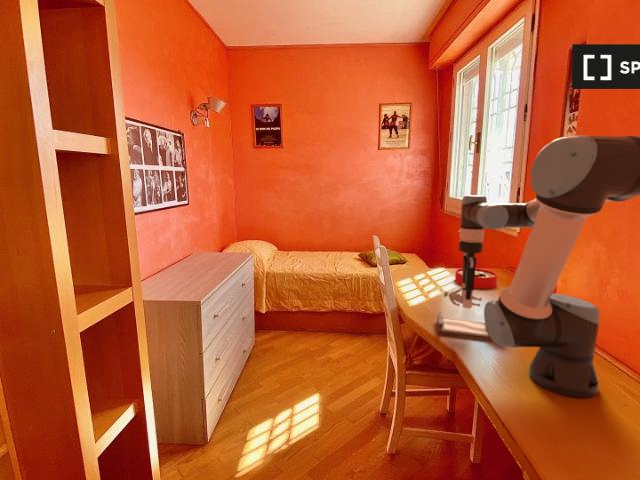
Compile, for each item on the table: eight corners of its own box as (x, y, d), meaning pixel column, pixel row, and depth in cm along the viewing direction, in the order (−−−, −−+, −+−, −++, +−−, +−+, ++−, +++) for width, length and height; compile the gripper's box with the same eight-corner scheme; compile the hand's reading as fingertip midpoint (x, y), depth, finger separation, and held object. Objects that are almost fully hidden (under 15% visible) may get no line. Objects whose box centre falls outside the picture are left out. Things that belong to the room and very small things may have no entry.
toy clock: (505, 275, 175) (479, 279, 166) (504, 285, 176) (478, 291, 167) (473, 266, 193) (447, 270, 184) (472, 276, 194) (446, 280, 185)
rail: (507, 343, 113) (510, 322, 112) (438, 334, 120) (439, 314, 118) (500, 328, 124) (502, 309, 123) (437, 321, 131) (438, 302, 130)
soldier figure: (478, 312, 116) (443, 298, 120) (473, 317, 120) (440, 303, 124) (483, 293, 120) (449, 280, 123) (478, 298, 124) (446, 285, 127)
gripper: (457, 235, 127) (452, 294, 131) (461, 244, 109) (456, 312, 113) (479, 236, 125) (474, 296, 129) (487, 246, 107) (481, 315, 111)
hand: (465, 304), depth 121 cm, fingers closed on soldier figure, 6 cm apart
